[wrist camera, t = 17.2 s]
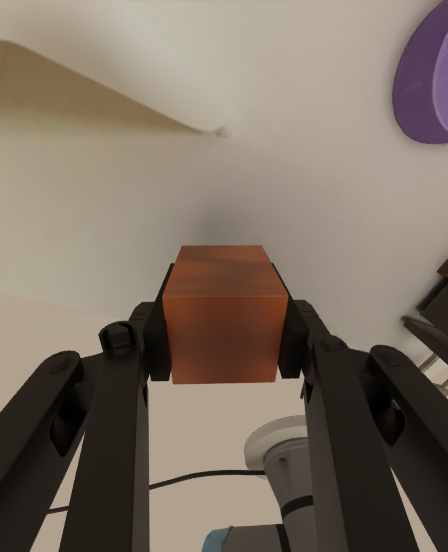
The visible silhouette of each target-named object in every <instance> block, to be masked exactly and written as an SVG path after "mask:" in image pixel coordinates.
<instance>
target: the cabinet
mask: <svg viewBox="0 0 448 552" xmlns="http://www.w3.org/2000/svg"><path fill="white" fill-rule="evenodd" d="M437 272H438V273H440V274H442V275H444V276H445V277H447V278H448V260H447V261H446V262H445V263H444V264H443V265H442V267H441V268H440V269H439V270H438V271H437Z"/></svg>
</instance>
